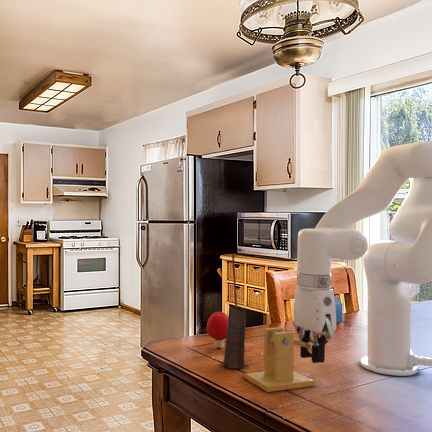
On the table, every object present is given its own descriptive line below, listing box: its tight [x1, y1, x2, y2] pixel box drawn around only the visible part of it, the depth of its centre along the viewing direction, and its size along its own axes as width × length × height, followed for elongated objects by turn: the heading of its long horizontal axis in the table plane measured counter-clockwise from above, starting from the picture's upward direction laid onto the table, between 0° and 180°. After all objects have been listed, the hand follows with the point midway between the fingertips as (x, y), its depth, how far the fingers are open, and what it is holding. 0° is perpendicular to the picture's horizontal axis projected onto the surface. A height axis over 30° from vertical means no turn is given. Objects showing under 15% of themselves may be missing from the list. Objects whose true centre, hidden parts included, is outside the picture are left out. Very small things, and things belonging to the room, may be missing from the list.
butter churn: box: [223, 254, 247, 370], centre depth 118 cm, size 9×10×28 cm
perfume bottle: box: [331, 286, 343, 323], centre depth 170 cm, size 6×6×12 cm
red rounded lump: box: [206, 311, 228, 350], centre depth 134 cm, size 9×7×10 cm
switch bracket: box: [244, 326, 314, 393], centre depth 107 cm, size 12×9×12 cm
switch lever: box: [270, 331, 314, 354], centre depth 109 cm, size 13×3×3 cm, turn 109°
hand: (312, 358), depth 110 cm, fingers closed on switch lever, 3 cm apart
